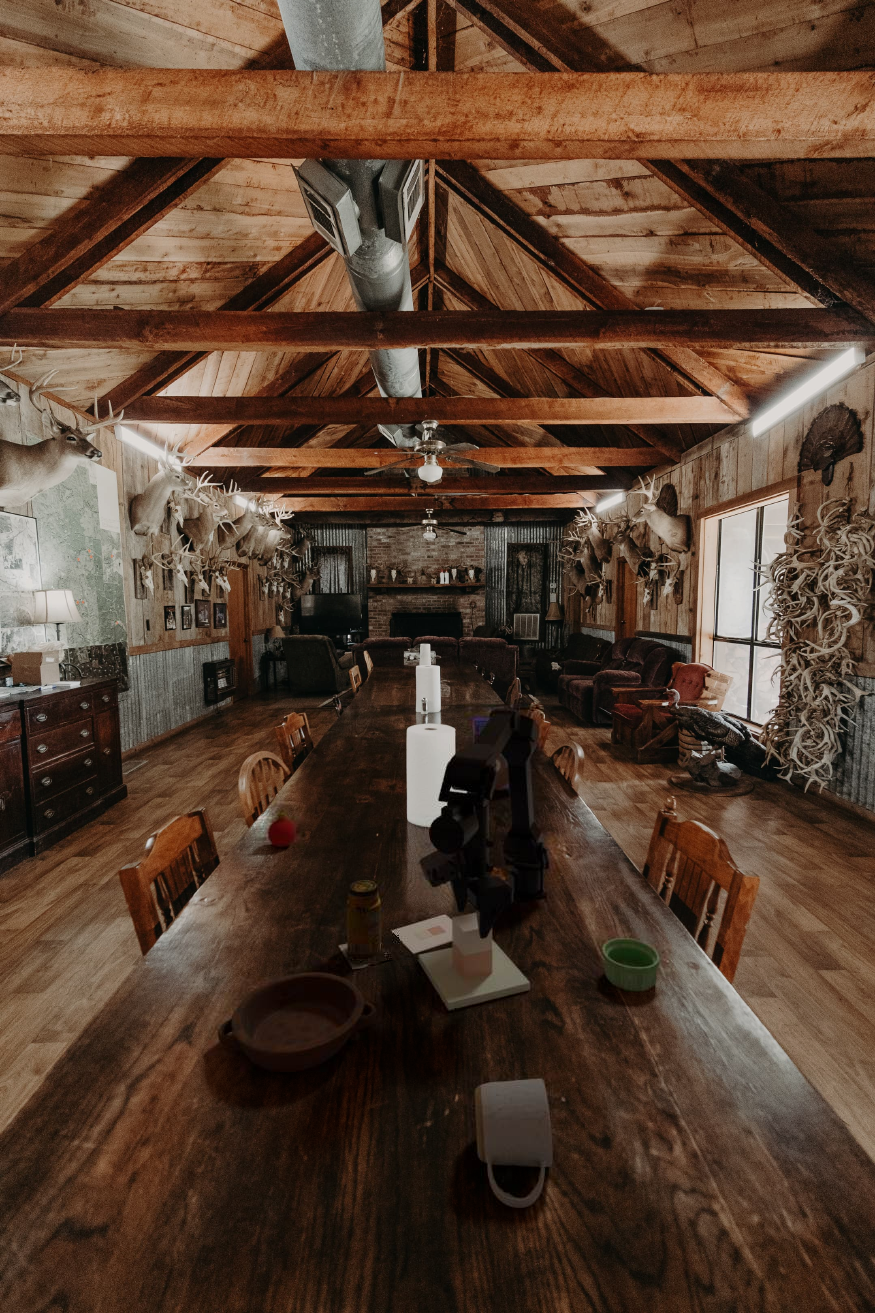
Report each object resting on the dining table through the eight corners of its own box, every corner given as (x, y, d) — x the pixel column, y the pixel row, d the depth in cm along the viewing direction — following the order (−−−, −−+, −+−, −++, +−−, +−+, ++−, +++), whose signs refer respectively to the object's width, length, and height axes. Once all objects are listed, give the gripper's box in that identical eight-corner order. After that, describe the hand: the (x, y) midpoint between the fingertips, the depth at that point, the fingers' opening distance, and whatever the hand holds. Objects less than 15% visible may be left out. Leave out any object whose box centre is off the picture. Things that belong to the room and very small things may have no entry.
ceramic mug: (473, 1124, 72) (473, 1063, 71) (542, 1124, 72) (543, 1063, 71) (479, 1214, 61) (478, 1144, 61) (560, 1214, 61) (561, 1143, 61)
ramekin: (630, 1001, 95) (630, 974, 94) (590, 971, 103) (590, 946, 102) (671, 984, 99) (671, 958, 98) (629, 957, 107) (630, 933, 106)
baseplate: (491, 945, 111) (491, 939, 111) (530, 989, 98) (530, 982, 97) (418, 961, 106) (418, 955, 106) (448, 1010, 93) (448, 1003, 93)
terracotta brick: (479, 957, 105) (479, 934, 104) (492, 973, 100) (492, 949, 100) (452, 963, 103) (452, 940, 103) (464, 979, 98) (464, 956, 98)
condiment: (376, 937, 114) (375, 874, 113) (393, 960, 106) (392, 893, 105) (338, 947, 111) (336, 882, 110) (353, 971, 103) (351, 902, 102)
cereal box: (473, 790, 208) (472, 720, 206) (474, 786, 212) (474, 717, 211) (524, 792, 205) (524, 721, 203) (525, 788, 209) (525, 718, 208)
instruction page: (445, 915, 122) (445, 914, 122) (470, 935, 114) (470, 934, 114) (390, 931, 116) (390, 930, 116) (413, 954, 108) (413, 953, 108)
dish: (384, 1072, 81) (384, 1036, 80) (208, 1102, 76) (207, 1064, 76) (370, 992, 98) (369, 962, 97) (225, 1013, 93) (224, 981, 93)
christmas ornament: (292, 851, 155) (291, 813, 155) (264, 851, 155) (263, 813, 155) (299, 841, 162) (298, 804, 162) (272, 841, 163) (271, 804, 162)
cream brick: (479, 934, 104) (479, 912, 104) (492, 949, 100) (492, 926, 100) (452, 940, 103) (452, 917, 102) (463, 956, 98) (463, 931, 98)
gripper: (406, 820, 106) (407, 907, 107) (446, 860, 88) (446, 964, 89) (466, 812, 110) (466, 896, 111) (514, 849, 92) (514, 949, 93)
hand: (471, 924), depth 101 cm, fingers open, 9 cm apart
